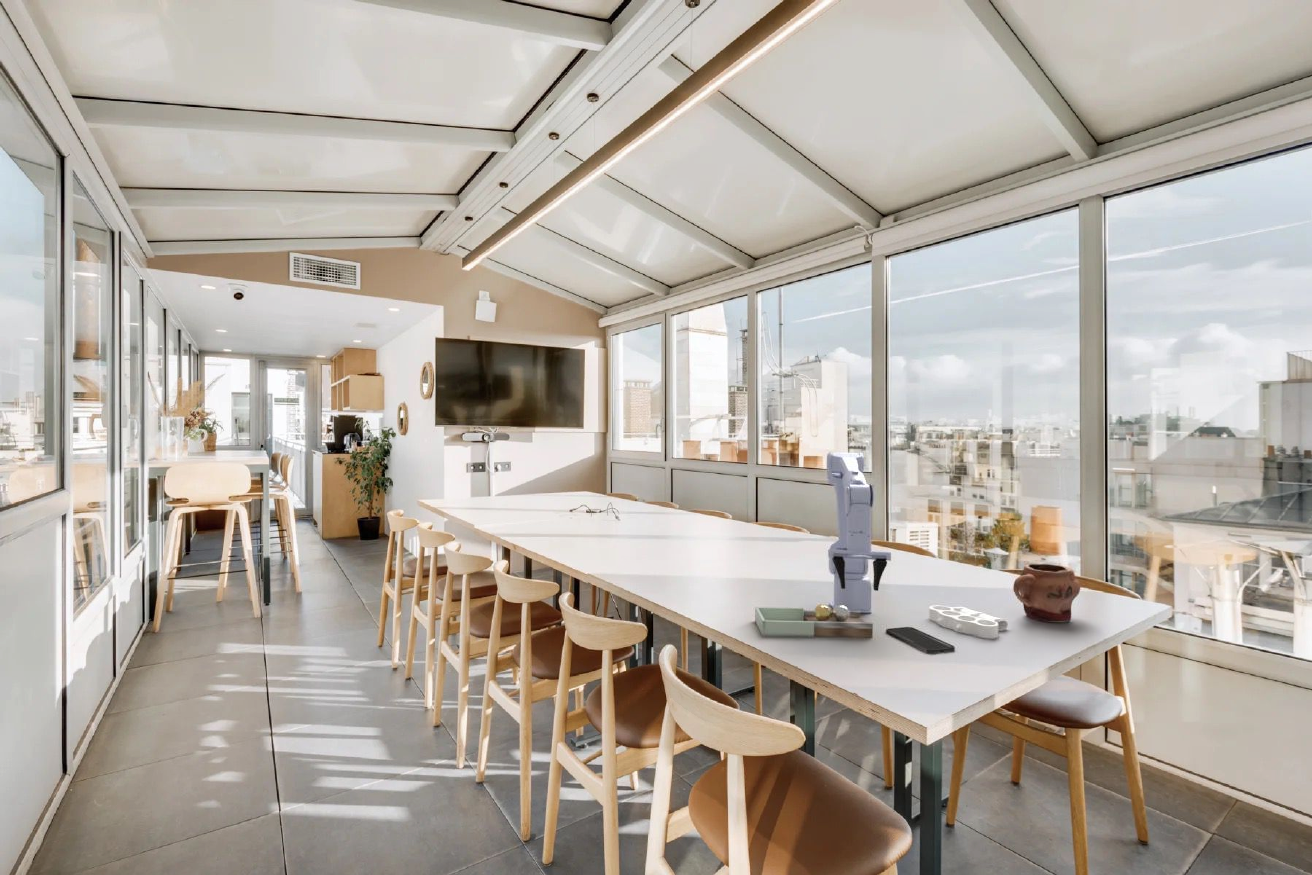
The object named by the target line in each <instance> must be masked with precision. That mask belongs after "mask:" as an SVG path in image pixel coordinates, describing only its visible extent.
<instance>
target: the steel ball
mask: <svg viewBox="0 0 1312 875" xmlns="http://www.w3.org/2000/svg"><path fill="white" fill-rule="evenodd" d="M832 611H833V617H834V618H835V619H836V620H837V621H839V622H845V621H846V620H848V618H849V616H850V612H849V610H848V608H847V607H845V606H844V605H837V606H836V607H835V608H832Z"/></svg>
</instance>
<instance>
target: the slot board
mask: <svg viewBox="0 0 1312 875" xmlns="http://www.w3.org/2000/svg"><path fill="white" fill-rule="evenodd" d="M814 610H815V609H813V610H812V609H803V621H813V622H814V637H839V638H840V637H842V638H843V637H846V638H847V637H851V638H853V637H854V638H873V635H874V634H873V632H874V630H873V625H874V624H873V623H872V622H871V621H868V622H866V621H865V620H864V619H863V618H862V617H861V613H860V611H849V612H850V616H849V618H848V620H846V621H845V622H839V621H837V620H836V619H835V618H834V617H833V610H831V617H830V619H829V620H827V621H819V620H818V619H817V618H816V617H815V615H814Z"/></svg>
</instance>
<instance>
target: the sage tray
mask: <svg viewBox="0 0 1312 875" xmlns="http://www.w3.org/2000/svg"><path fill="white" fill-rule="evenodd" d="M754 609H755V610H754V611H755V616H754V619H755V620H754V621H755V623H756V624H757V627H758V629H759V632H760V634H761V636H762V637H784V638H785V637H787V638H788V637H790V638H794V637H795V638H814V637H815V636H814V622H813V621H803V610H804V608H803V607H776V606H775V607H774V606H773V607H772V606H769V607H768V606H767V607H766V606H755V608H754Z"/></svg>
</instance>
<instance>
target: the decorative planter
mask: <svg viewBox="0 0 1312 875" xmlns="http://www.w3.org/2000/svg"><path fill="white" fill-rule="evenodd" d="M1074 572H1075V571H1073V569H1071V568H1069V567H1067V566H1064V565H1056V564H1048V563H1041V564H1040V563H1037V564H1036V563H1035V564H1034V563H1032V564H1026V565H1025V566H1024V567H1023V570H1022V572H1021V574H1020V575H1019V576H1018V577H1016V578H1015V579H1014V582H1013V585H1012V588H1013V590H1012V591H1013V593H1014V595H1015V596H1016V598H1017V599H1018V601H1020V602H1021V604H1022V605H1023V611H1024V613H1025V615H1026V616H1027V617H1029V618H1031V619H1034V620H1037V621H1042V622H1048V623H1065V622H1069V621H1071V620H1072V604H1073V602H1074V600H1075V599H1076V598H1077V597H1078V596H1079V594H1080V592H1081V584H1080V583H1079V581H1078V580H1077V578H1076V575H1075V573H1074Z"/></svg>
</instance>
